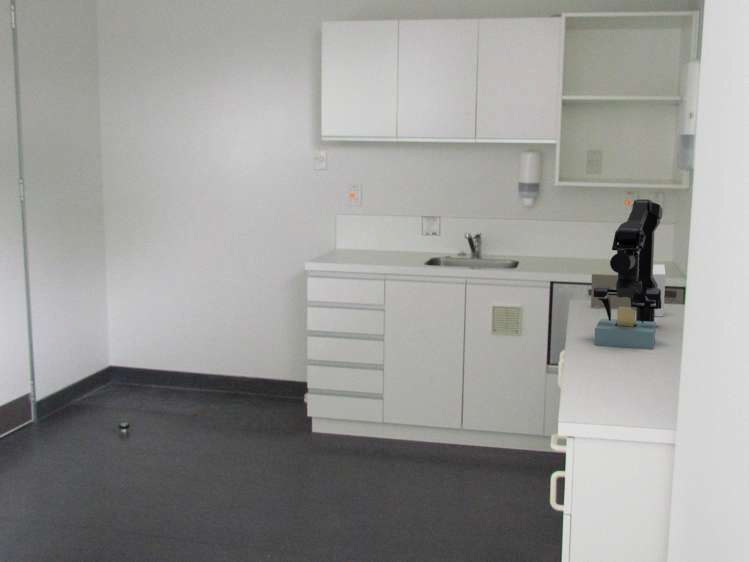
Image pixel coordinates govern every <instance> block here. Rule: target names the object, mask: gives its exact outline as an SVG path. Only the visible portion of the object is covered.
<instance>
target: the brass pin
mask: <svg viewBox="0 0 749 562" xmlns="http://www.w3.org/2000/svg"><path fill="white" fill-rule="evenodd" d="M616 315H617V317H616V320H617V326H620V327H634V325H635V321H636V311H635V308H634V307H619V308H618V310H617V314H616Z"/></svg>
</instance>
